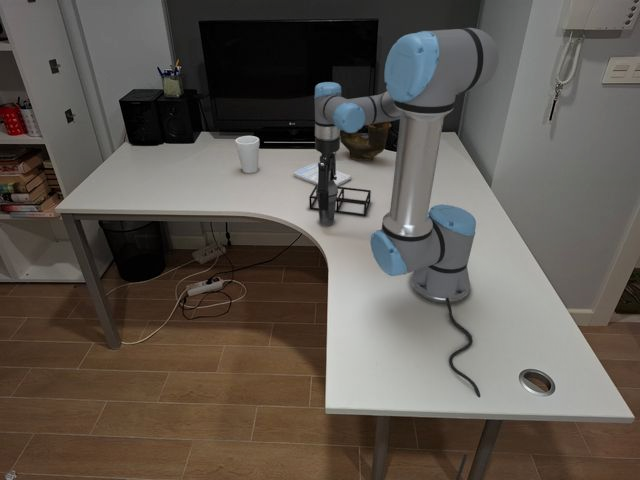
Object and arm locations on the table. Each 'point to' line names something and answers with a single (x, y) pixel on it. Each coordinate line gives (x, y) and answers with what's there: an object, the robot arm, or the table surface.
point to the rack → (344, 200)
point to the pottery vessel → (366, 141)
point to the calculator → (311, 175)
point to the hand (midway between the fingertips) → (326, 203)
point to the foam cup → (248, 153)
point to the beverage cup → (325, 215)
